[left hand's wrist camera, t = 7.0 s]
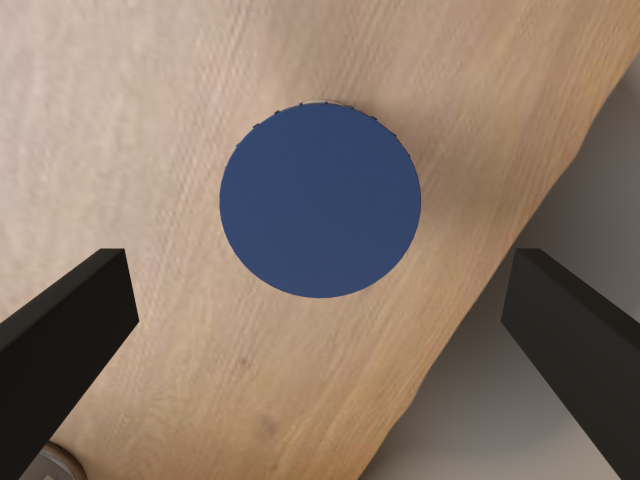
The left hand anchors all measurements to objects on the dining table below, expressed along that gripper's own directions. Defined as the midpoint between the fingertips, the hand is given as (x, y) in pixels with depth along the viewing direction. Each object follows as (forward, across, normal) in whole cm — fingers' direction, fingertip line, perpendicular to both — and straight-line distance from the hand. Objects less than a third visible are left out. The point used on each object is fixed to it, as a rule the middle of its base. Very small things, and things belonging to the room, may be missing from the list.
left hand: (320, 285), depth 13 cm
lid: (+8, 0, 0) cm, 8 cm away
